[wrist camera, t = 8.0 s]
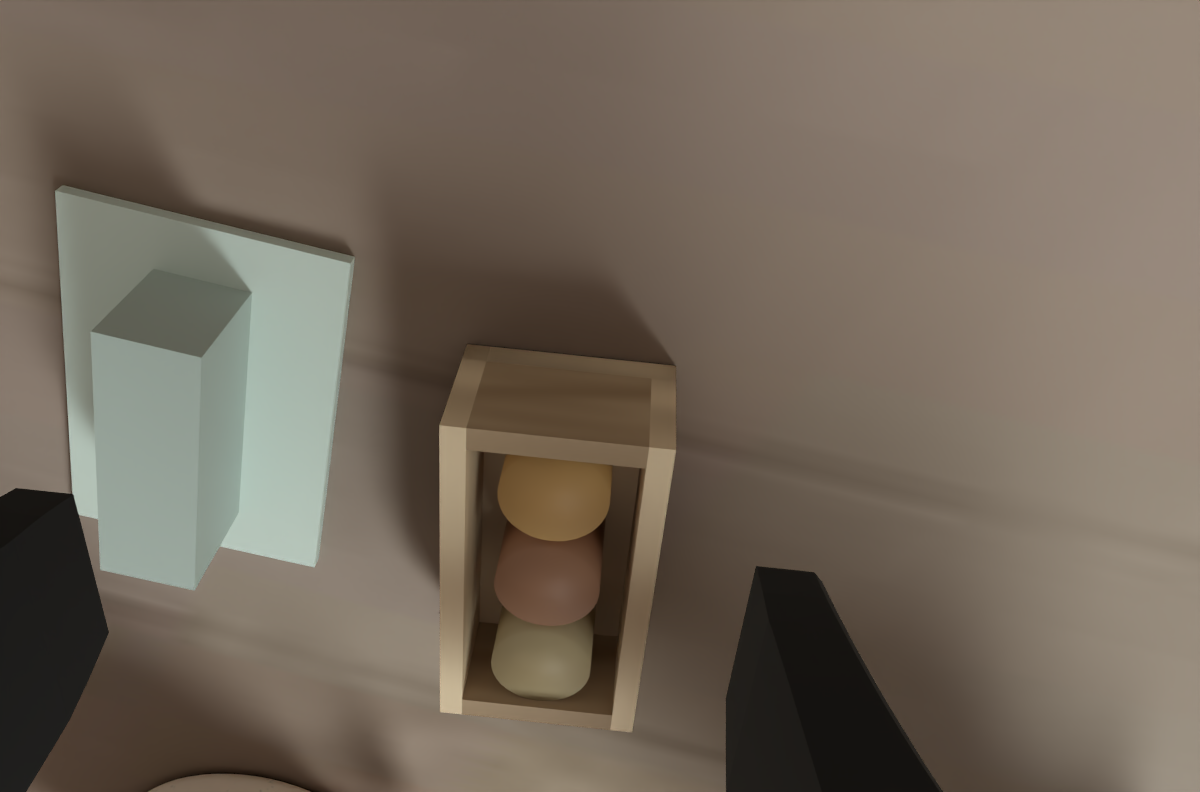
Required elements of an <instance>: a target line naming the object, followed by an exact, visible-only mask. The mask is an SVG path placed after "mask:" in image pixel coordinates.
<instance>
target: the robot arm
mask: <svg viewBox="0 0 1200 792" xmlns="http://www.w3.org/2000/svg"><path fill="white" fill-rule="evenodd" d="M108 633H109V632H108V628H107V624H106V620H105V616H104V612H103V608H102V604H101V600H100V596H99V593H98V589H97V585H96V581H95V577H94V573H93V569H92V565H91V561H90V557H89V553H88V550H87V546H86V542H85V538H84V534H83V530H82V526H81V522H80V518H79V514H78V511H77V507H76V503H75V499H74V495H73V494H66V493H56V492H47V491H37V490H28V489H18V488H16V489H14V490H12V491H10V492H8V493H7V494H5V495H3V496H1V497H0V792H26V791H27V789H28V788H29V786H30V784H31V783H32V781H33V780H34V778H35V776H36V775H37V773H38V771H39V770H40V768H41V766H42V765H43V763H44V762H45V760H46V758H47V757H48V755H49V753H50V752H51V750H52V748H53V747H54V745H55V744H56V742H57V740H58V738H59V737H60V735H61V733H62V732H63V730H64V728H65V727H66V725H67V723H68V722H69V720H70V718H71V716H72V713H73V711H74V709H75V707H76V705H77V703H78V701H79V699H80V697H81V694H82V692H83V690H84V688H85V686H86V684H87V682H88V679H89V677H90V675H91V673H92V670H93V668H94V666H95V663H96V661H97V659H98V656H99V654H100V652H101V649H102V647H103V645H104V642H105V640H106V638H107V635H108ZM726 792H943V791H942V790H941V788H940V787H939V785H938V784H937V782H936V781H935V779H934V778H933V776H932V775H931V773H930V771H929V770H928V768H927V767H926V765H925V764H924V762H923V761H922V759H921V758H920V756H919V754H918V753H917V751H916V749H915V748H914V746H913V745H912V743H911V741H910V740H909V738H908V736H907V735H906V733H905V732H904V730H903V728H902V727H901V725H900V723H899V722H898V720H897V718H896V717H895V715H894V714H893V712H892V710H891V709H890V707H889V705H888V704H887V702H886V700H885V699H884V697H883V695H882V693H881V692H880V690H879V688H878V687H877V685H876V683H875V681H874V680H873V678H872V676H871V674H870V672H869V671H868V669H867V667H866V665H865V663H864V662H863V660H862V658H861V656H860V654H859V653H858V651H857V649H856V647H855V645H854V643H853V642H852V640H851V638H850V636H849V634H848V632H847V630H846V628H845V627H844V625H843V623H842V621H841V619H840V617H839V615H838V613H837V611H836V609H835V607H834V605H833V603H832V601H831V599H830V597H829V595H828V593H827V591H826V589H825V587H824V585H823V583H822V581H821V580H820V579H819V578H818V576H817V575H816V574H815V573H814V572H805V571H796V570H786V569H777V568H767V567H758V566H756V569H755V573H754V578H753V582H752V587H751V591H750V595H749V600H748V604H747V609H746V613H745V617H744V622H743V626H742V630H741V635H740V639H739V644H738V648H737V652H736V657H735V661H734V666H733V670H732V674H731V679H730V683H729V687H728V692H727V696H726Z"/></svg>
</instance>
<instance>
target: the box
mask: <svg viewBox="0 0 1200 792" xmlns="http://www.w3.org/2000/svg"><path fill="white" fill-rule="evenodd" d="M675 454H676V366H672V365H662V364H653V363H643V362H634V361H624V360H614V359H605V358H595V357H586V356H576V355H567V354H557V353H547V352H538V351H528V350H519V349H509V348H500V347H490V346H480V345H471V344H467V346H466V349H465V352H464V355H463V358H462V360H461V363H460V366H459V369H458V372H457V375H456V378H455V381H454V384H453V387H452V390H451V393H450V396H449V399H448V401H447V404H446V407H445V410H444V413H443V416H442V419H441V422H440V425H439V483H440V712H445V713H454V714H464V715H473V716H483V717H492V718H501V719H511V720H520V721H530V722H539V723H548V724H558V725H567V726H577V727H586V728H595V729H605V730H614V731H624V732H632V729H633V723H634V717H635V710H636V704H637V697H638V691H639V685H640V678H641V672H642V665H643V659H644V653H645V646H646V640H647V633H648V627H649V621H650V614H651V608H652V601H653V595H654V589H655V582H656V576H657V569H658V563H659V557H660V550H661V544H662V537H663V531H664V525H665V518H666V512H667V506H668V499H669V493H670V486H671V480H672V474H673V467H674V461H675Z"/></svg>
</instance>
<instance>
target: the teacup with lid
mask: <svg viewBox="0 0 1200 792" xmlns="http://www.w3.org/2000/svg"><path fill="white" fill-rule="evenodd" d="M148 792H311V791H308V790H306V789H303V788H300V787H298V786H295V785H291V784H288V783H285V782H281V781H277V780H273V779H269V778H263V777H258V776H250V775H241V774H205V775H196V776H189V777H185V778H180V779H176V780H173V781H170V782H167V783H165V784H162V785H160V786H158V787H155V788H154V789H152V790H150V791H148Z"/></svg>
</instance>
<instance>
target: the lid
mask: <svg viewBox="0 0 1200 792" xmlns="http://www.w3.org/2000/svg"><path fill="white" fill-rule="evenodd" d="M55 198H56V216H57V233H58V250H59V268H60V285H61V303H62V320H63V337H64V355H65V372H66V389H67V407H68V424H69V442H70V459H71V476H72V494H73V495H74V499H75V503H76V507H77V511H78V514H79V515H82V516H86V517H91V518H95V519H98V528H99V553H100V570H103V571H108V572H112V573H117V574H121V575H126V576H130V577H135V578H140V579H144V580H149V581H153V582H158V583H162V584H167V585H171V586H176V587H181V588H185V589H190V590H195V589H196V587H197V585H198V583H199V582H200V580H201V578H202V576H203V575H204V573H205V571H206V569H207V568H208V566H209V564H210V562H211V561H212V559H213V557H214V555H215V554H216V552H217V550H218V548H219V547H220V546H221V547H225V548H230V549H234V550H239V551H243V552H248V553H252V554H257V555H261V556H266V557H270V558H274V559H279V560H283V561H288V562H292V563H297V564H301V565H306V566H310V567H315V565H316V563H317V561H318V558H319V551H320V543H321V534H322V526H323V518H324V509H325V501H326V493H327V485H328V476H329V468H330V460H331V451H332V443H333V435H334V426H335V418H336V410H337V402H338V393H339V385H340V377H341V368H342V360H343V352H344V344H345V335H346V327H347V319H348V310H349V302H350V294H351V286H352V277H353V269H354V261H355V257H354V256H350V255H346V254H342V253H338V252H334V251H330V250H325V249H321V248H317V247H313V246H309V245H305V244H301V243H297V242H293V241H289V240H285V239H281V238H277V237H272V236H268V235H264V234H260V233H256V232H252V231H248V230H244V229H240V228H236V227H232V226H228V225H224V224H219V223H215V222H211V221H207V220H203V219H199V218H195V217H191V216H187V215H183V214H179V213H175V212H170V211H166V210H162V209H158V208H154V207H150V206H146V205H142V204H138V203H134V202H130V201H126V200H122V199H117V198H113V197H109V196H105V195H101V194H97V193H93V192H89V191H85V190H81V189H77V188H73V187H69V186H64V185H62V186H61V187H59V188H58V189H57V190H55Z"/></svg>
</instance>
